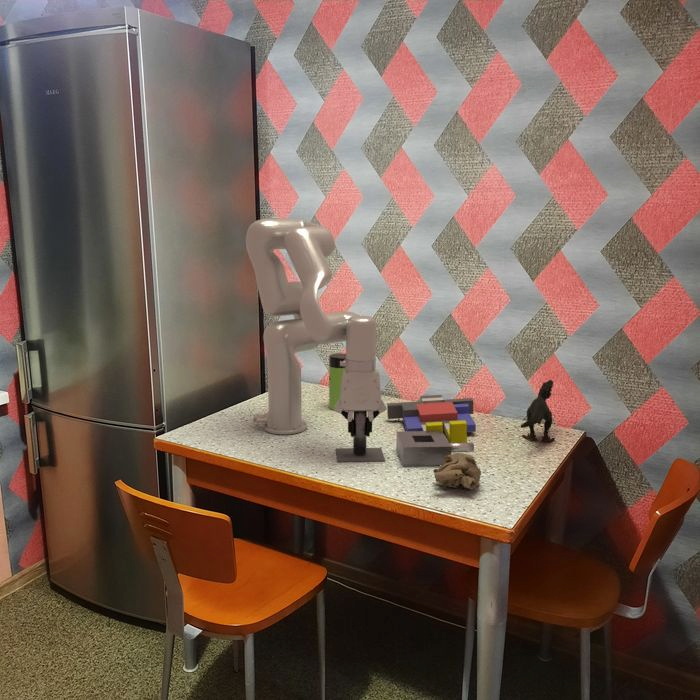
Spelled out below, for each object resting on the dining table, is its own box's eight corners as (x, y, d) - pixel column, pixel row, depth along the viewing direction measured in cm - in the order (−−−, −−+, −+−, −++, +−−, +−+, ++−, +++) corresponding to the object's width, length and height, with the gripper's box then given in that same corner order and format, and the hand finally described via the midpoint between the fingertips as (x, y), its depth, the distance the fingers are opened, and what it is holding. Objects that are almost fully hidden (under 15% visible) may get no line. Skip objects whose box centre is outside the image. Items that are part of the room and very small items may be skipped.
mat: (337, 462, 160) (337, 460, 160) (335, 449, 169) (336, 448, 169) (385, 461, 161) (385, 460, 161) (381, 449, 170) (381, 447, 170)
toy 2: (562, 430, 186) (566, 380, 183) (540, 461, 162) (544, 404, 159) (531, 425, 190) (534, 376, 187) (505, 455, 166) (508, 399, 163)
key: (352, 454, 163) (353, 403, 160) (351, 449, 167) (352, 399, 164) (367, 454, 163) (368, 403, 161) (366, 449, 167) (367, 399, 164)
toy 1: (394, 427, 170) (385, 389, 199) (395, 457, 172) (386, 415, 201) (490, 421, 170) (467, 384, 199) (490, 451, 173) (467, 409, 202)
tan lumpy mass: (449, 437, 154) (424, 464, 141) (493, 449, 149) (471, 478, 136) (447, 464, 156) (422, 493, 144) (490, 477, 151) (468, 508, 139)
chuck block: (402, 466, 158) (403, 447, 157) (396, 449, 170) (396, 431, 169) (478, 465, 159) (479, 446, 158) (466, 448, 171) (467, 430, 170)
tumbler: (336, 412, 202) (336, 359, 198) (324, 406, 208) (324, 354, 205) (355, 409, 206) (356, 356, 202) (343, 403, 212) (344, 352, 209)
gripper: (328, 369, 156) (328, 440, 160) (395, 368, 157) (393, 439, 161) (327, 362, 164) (327, 430, 167) (391, 361, 165) (390, 430, 168)
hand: (359, 434), depth 164 cm, fingers closed on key, 3 cm apart
